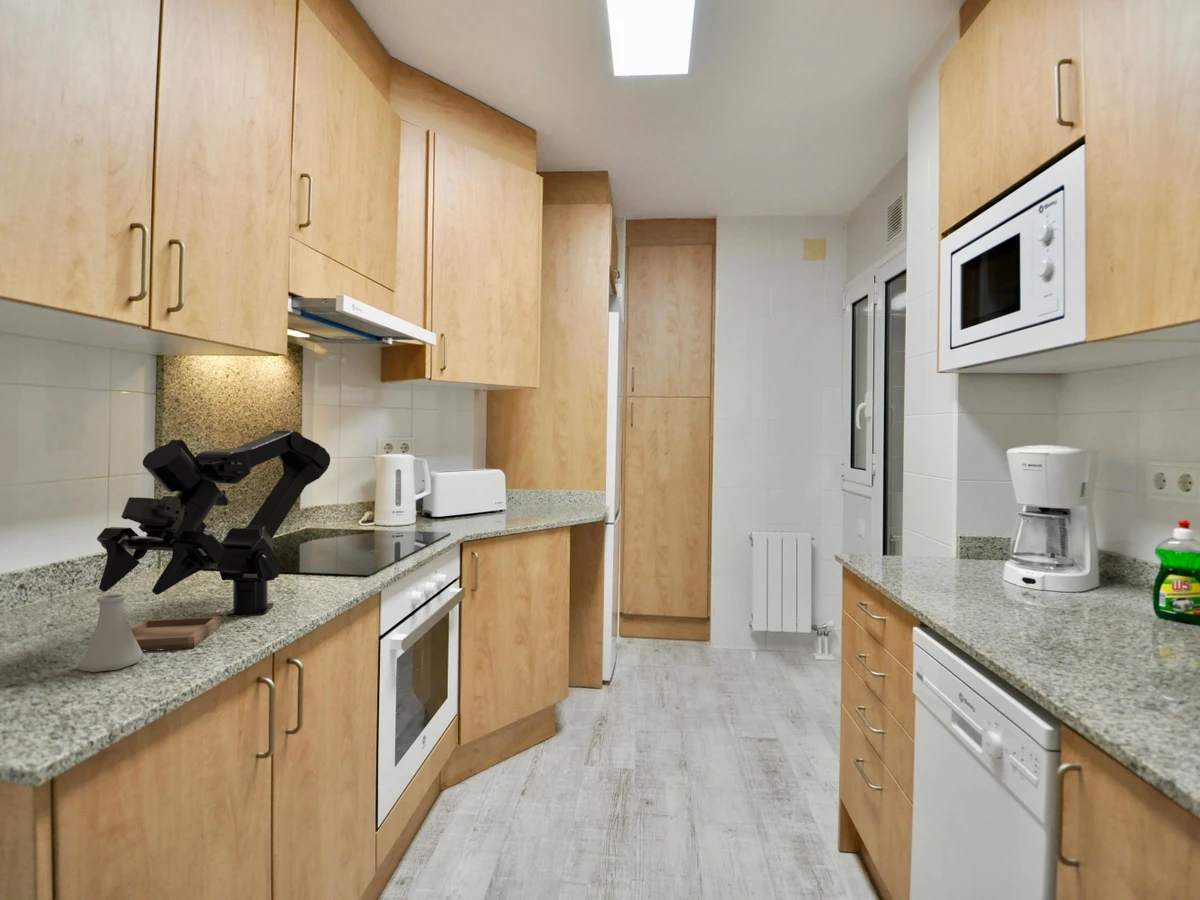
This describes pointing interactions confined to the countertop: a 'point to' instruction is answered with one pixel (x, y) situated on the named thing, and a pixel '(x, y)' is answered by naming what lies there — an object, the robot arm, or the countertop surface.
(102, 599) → the flask
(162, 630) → the walnut tray
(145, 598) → the countertop surface
